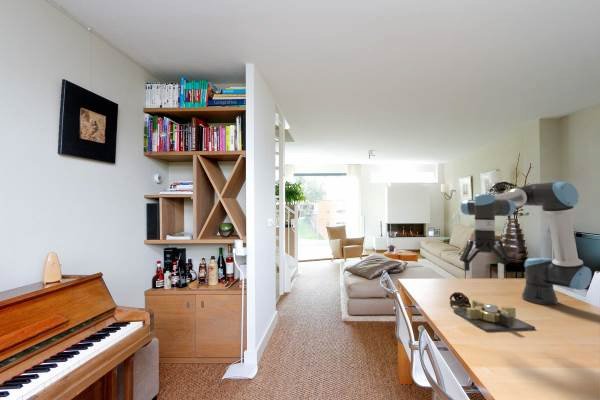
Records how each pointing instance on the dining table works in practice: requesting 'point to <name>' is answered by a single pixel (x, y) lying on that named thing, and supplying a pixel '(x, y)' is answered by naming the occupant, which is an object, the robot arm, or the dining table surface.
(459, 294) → the pottery mug
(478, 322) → the flange plate
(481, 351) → the dining table surface
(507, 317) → the ring nut
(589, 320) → the dining table surface
